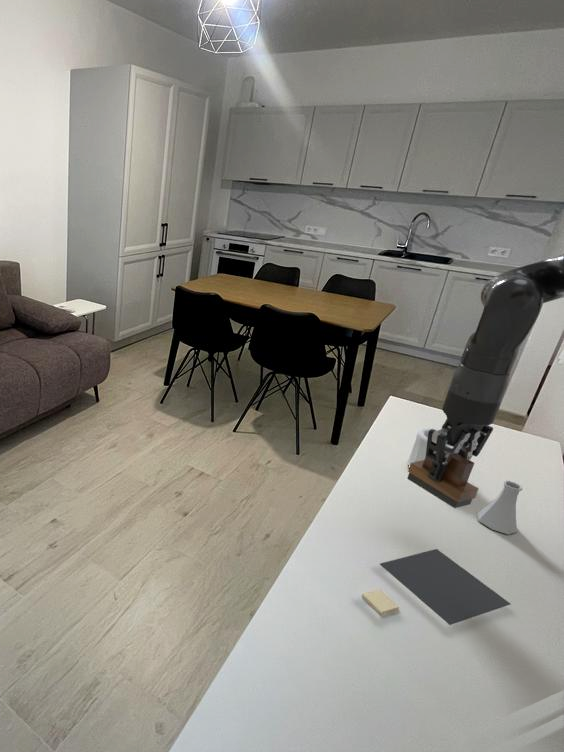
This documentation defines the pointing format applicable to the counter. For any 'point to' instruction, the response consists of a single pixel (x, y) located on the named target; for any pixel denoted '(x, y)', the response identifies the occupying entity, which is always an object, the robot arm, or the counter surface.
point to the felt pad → (380, 601)
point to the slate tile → (444, 586)
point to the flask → (502, 510)
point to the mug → (421, 446)
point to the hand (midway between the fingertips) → (444, 477)
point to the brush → (446, 480)
